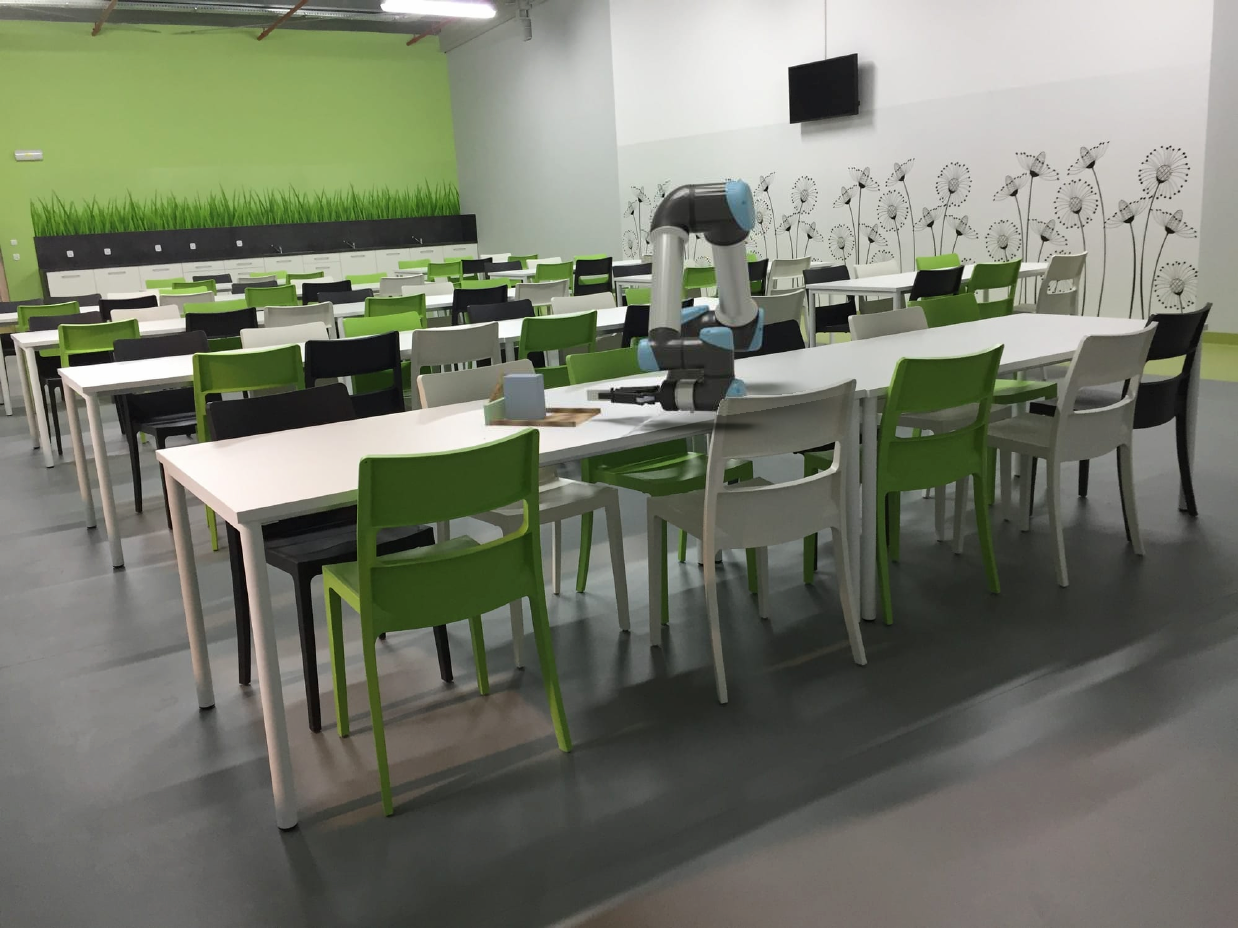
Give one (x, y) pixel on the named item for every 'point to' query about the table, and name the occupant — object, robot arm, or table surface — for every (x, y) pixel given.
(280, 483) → the table surface
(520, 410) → the block
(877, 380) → the table surface
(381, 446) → the table surface
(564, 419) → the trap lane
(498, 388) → the rock
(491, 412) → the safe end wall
